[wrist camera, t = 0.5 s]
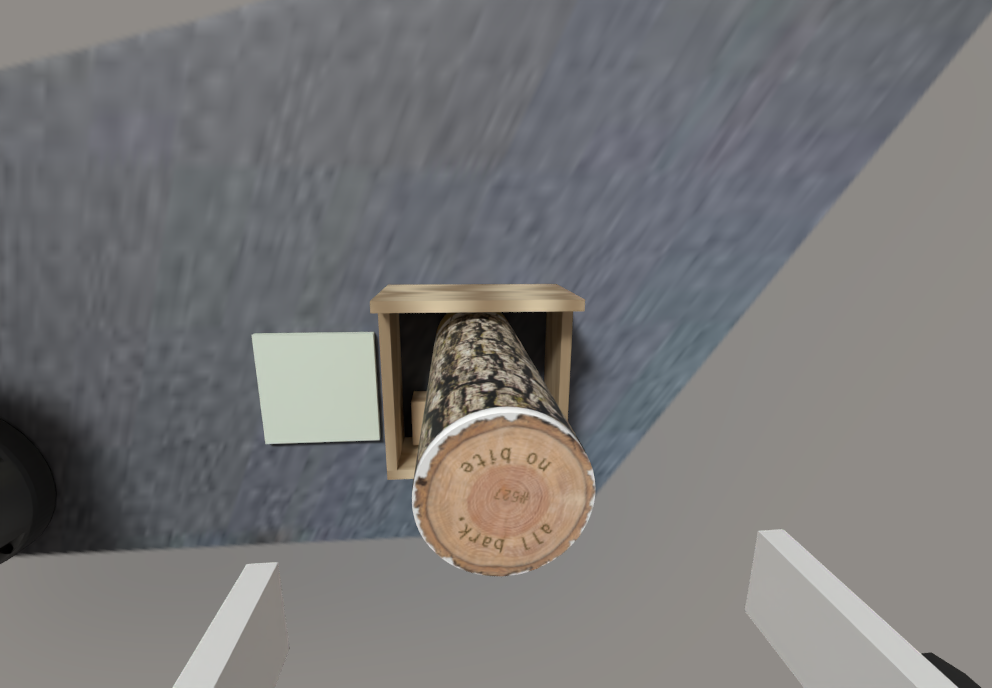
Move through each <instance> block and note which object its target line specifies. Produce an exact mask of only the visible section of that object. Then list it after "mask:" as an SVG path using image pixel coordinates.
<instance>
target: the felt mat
mask: <svg viewBox="0 0 992 688" xmlns="http://www.w3.org/2000/svg"><path fill="white" fill-rule="evenodd" d="M252 342H253V349H254V357H255V365H256V373H257V381H258V388H259V396H260V404H261V412H262V419H263V427H264V435H265V443H266V444H280V443H309V442H338V441H367V440H380V437H381V435H380V419H379V402H378V386H377V369H376V353H375V336H374V332H331V333H256V334H253V335H252Z"/></svg>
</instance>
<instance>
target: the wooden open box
mask: <svg viewBox="0 0 992 688" xmlns="http://www.w3.org/2000/svg"><path fill="white" fill-rule="evenodd" d="M584 310H585V299H583V298H581V297H579V296H577V295H575V294H574V293H572V292H570V291H568V290H566V289H564V288H563V287H561V286H559V285H557V284H468V285H387V286H386V287H385V288H384V289H383V290H382V291H381V292H380V293H379V294H377V295H376V296H375V297H374V298H373V299H372V300H371V301H370V313H378V321H379V339H380V356H381V373H382V391H383V408H384V425H385V443H386V460H387V477H388V480H393V479H414V473H415V466H416V460H417V453H418V447H419V445H413V437H405V433H404V411H403V389H402V368H401V346H400V324H399V313H449V312H547V313H546V341H545V370H544V382H545V384H546V386H547V388H548V389H549V391H550V393H551V394H552V396H553V398H554V399H555V401H556V403H557V404H558V406H559V408H560V409H561V411H562V413H563V414H564V416H565V418H566V420H567V421H568V403H569V383H570V363H571V342H572V322H573V311H584Z"/></svg>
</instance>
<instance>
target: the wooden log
mask: <svg viewBox="0 0 992 688" xmlns="http://www.w3.org/2000/svg"><path fill="white" fill-rule="evenodd" d="M594 499H595V479H594V474H593V470H592V466H591V463H590V461H589V459H588V457H587V455H586V452H585V450H584V448H583V446H582V445H581V443H580V441H579V440H578V438H577V436H576V435H575V433H574V431H573V430H572V428H571V426H570V425H569V423H568V421H567V420H566V418H565V416H564V414H563V413H562V411H561V409H560V408H559V406H558V404H557V403H556V401H555V399H554V398H553V396H552V394H551V393H550V391H549V389H548V388H547V386H546V384H545V382H544V381H543V379H542V377H541V376H540V374H539V372H538V371H537V369H536V367H535V366H534V364H533V362H532V361H531V359H530V357H529V356H528V354H527V352H526V351H525V349H524V347H523V345H522V344H521V342H520V340H519V339H518V337H517V335H516V334H515V332H514V330H513V329H512V327H511V326H510V324H509V322H508V321H507V319H506V318H505V316H504V315H503V314H502V313H501V312H449V313H447V314H446V315H445V316H444V317H443V319H442V320H441V322H440V324H439V326H438V328H437V332H436V338H435V343H434V349H433V356H432V362H431V369H430V375H429V382H428V388H427V395H426V401H425V408H424V414H423V421H422V427H421V434H420V440H419V447H418V453H417V460H416V466H415V473H414V479H413V489H412V507H413V514H414V518H415V521H416V524H417V527H418V529H419V531H420V533H421V535H422V537H423V538H424V540H425V541H426V543H427V544H428V545H429V547H430V548H431V549H432V550H433V551H434V552H435V553H436V554H438V555H439V556H440V557H441V558H442V559H444V560H445V561H447V562H448V563H450V564H452V565H453V566H456V567H457V568H460V569H462V570H465V571H468V572H471V573H475V574H480V575H487V576H509V575H516V574H521V573H525V572H529V571H531V570H534V569H537V568H539V567H542V566H544V565H546V564H547V563H549V562H551V561H553V560H554V559H556V558H557V557H559V556H560V555H561V554H562V553H564V552H565V551H566V550H567V549H568V548H569V547H570V546H571V545H572V544H573V543H574V542H575V541H576V540H577V538H578V537H579V536H580V534H581V533H582V531H583V530H584V528H585V526H586V524H587V522H588V520H589V518H590V515H591V512H592V509H593V505H594Z"/></svg>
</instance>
